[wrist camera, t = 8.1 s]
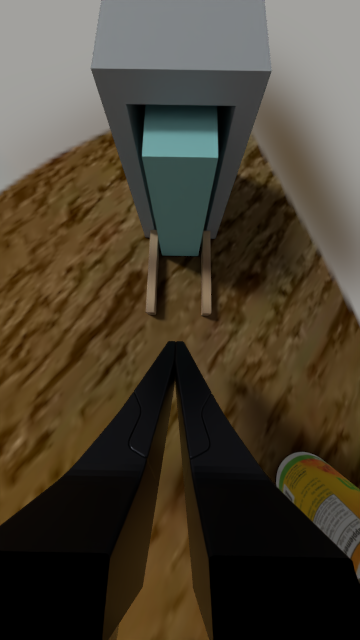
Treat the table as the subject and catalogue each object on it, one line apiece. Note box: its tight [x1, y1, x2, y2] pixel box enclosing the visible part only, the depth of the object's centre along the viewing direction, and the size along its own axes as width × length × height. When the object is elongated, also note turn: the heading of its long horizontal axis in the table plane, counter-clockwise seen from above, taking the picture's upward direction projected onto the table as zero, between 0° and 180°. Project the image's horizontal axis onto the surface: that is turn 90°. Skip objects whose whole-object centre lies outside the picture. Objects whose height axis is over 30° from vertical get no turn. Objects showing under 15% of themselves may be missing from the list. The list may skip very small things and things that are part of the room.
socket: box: [91, 0, 271, 239], centre depth 13 cm, size 10×8×11 cm
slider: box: [142, 104, 218, 256], centre depth 13 cm, size 8×4×9 cm, turn 179°
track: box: [146, 230, 211, 316], centre depth 16 cm, size 9×6×1 cm
